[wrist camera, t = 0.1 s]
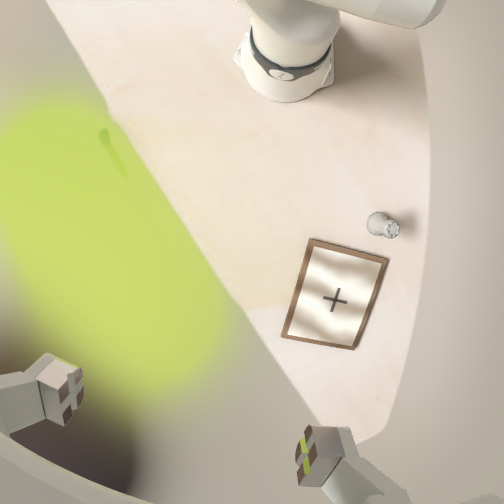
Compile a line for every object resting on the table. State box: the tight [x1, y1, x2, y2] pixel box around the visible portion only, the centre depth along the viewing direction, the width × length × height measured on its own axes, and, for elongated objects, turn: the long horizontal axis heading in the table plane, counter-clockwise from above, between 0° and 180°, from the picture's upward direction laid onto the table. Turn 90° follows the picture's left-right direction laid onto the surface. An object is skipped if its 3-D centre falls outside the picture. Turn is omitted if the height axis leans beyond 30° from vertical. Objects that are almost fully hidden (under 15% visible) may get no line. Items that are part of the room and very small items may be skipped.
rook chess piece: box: [367, 212, 400, 238], centre depth 52 cm, size 4×4×8 cm
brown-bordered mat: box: [281, 238, 387, 350], centre depth 58 cm, size 20×16×1 cm
